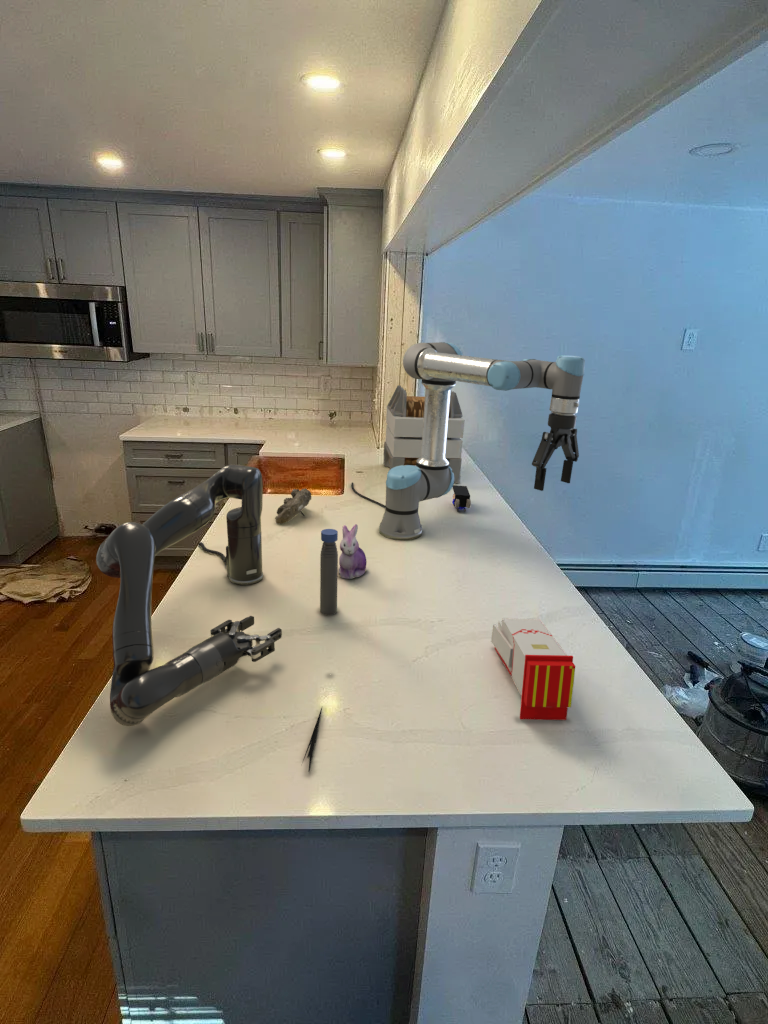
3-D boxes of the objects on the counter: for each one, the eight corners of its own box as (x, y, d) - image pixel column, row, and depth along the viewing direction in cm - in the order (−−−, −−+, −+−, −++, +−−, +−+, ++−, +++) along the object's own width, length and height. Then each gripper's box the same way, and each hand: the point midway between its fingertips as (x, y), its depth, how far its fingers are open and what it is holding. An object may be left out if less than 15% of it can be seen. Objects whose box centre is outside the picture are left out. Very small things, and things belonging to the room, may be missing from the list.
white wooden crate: (382, 463, 289) (386, 382, 275) (445, 464, 293) (451, 384, 279) (390, 482, 257) (394, 392, 243) (460, 483, 261) (468, 394, 247)
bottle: (339, 613, 147) (340, 535, 139) (323, 616, 145) (324, 537, 137) (333, 605, 150) (334, 529, 143) (317, 608, 148) (318, 531, 141)
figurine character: (470, 516, 223) (465, 500, 237) (473, 499, 220) (467, 484, 233) (453, 516, 223) (449, 500, 236) (455, 498, 220) (451, 483, 233)
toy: (537, 603, 136) (584, 662, 106) (532, 655, 138) (577, 726, 109) (487, 602, 135) (520, 661, 106) (483, 654, 138) (514, 725, 109)
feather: (331, 679, 122) (336, 673, 122) (307, 777, 96) (313, 769, 95) (324, 675, 122) (329, 669, 121) (298, 772, 95) (304, 764, 95)
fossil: (280, 494, 222) (309, 474, 217) (296, 512, 224) (325, 493, 219) (264, 519, 202) (296, 497, 197) (282, 539, 205) (313, 518, 200)
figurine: (344, 582, 162) (345, 534, 157) (330, 568, 171) (331, 521, 166) (373, 577, 167) (375, 529, 162) (359, 563, 175) (360, 517, 170)
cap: (340, 541, 140) (340, 533, 139) (324, 543, 138) (324, 535, 137) (333, 535, 143) (334, 527, 143) (318, 537, 141) (318, 529, 141)
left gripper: (187, 662, 120) (245, 629, 133) (234, 687, 113) (290, 650, 126) (185, 631, 118) (244, 601, 130) (232, 655, 110) (290, 621, 123)
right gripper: (548, 419, 148) (537, 496, 155) (598, 411, 163) (586, 482, 171) (525, 414, 153) (515, 489, 160) (575, 407, 169) (564, 476, 176)
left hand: (266, 625), depth 128 cm, fingers open, 8 cm apart
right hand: (552, 485), depth 166 cm, fingers open, 13 cm apart
